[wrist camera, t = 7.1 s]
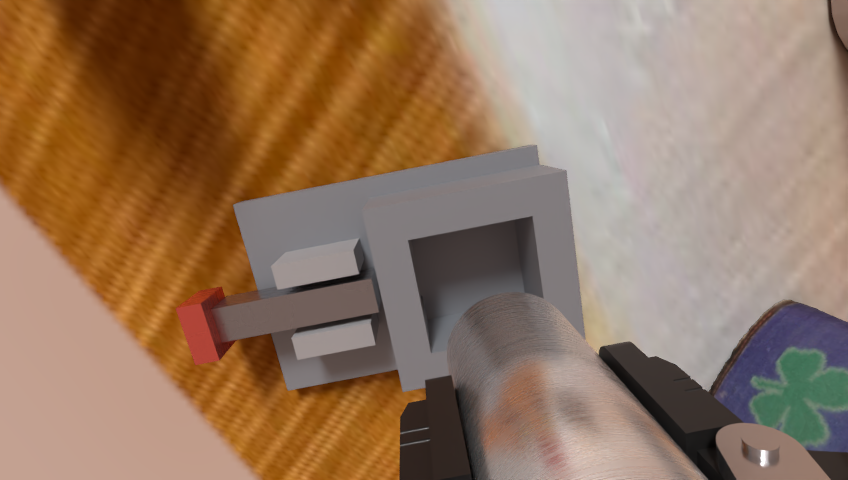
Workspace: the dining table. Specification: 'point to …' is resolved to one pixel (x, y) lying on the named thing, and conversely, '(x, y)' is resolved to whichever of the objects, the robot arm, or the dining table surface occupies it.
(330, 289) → the lock pin
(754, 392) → the flask
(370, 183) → the mount
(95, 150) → the dining table surface
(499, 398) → the salt shaker
